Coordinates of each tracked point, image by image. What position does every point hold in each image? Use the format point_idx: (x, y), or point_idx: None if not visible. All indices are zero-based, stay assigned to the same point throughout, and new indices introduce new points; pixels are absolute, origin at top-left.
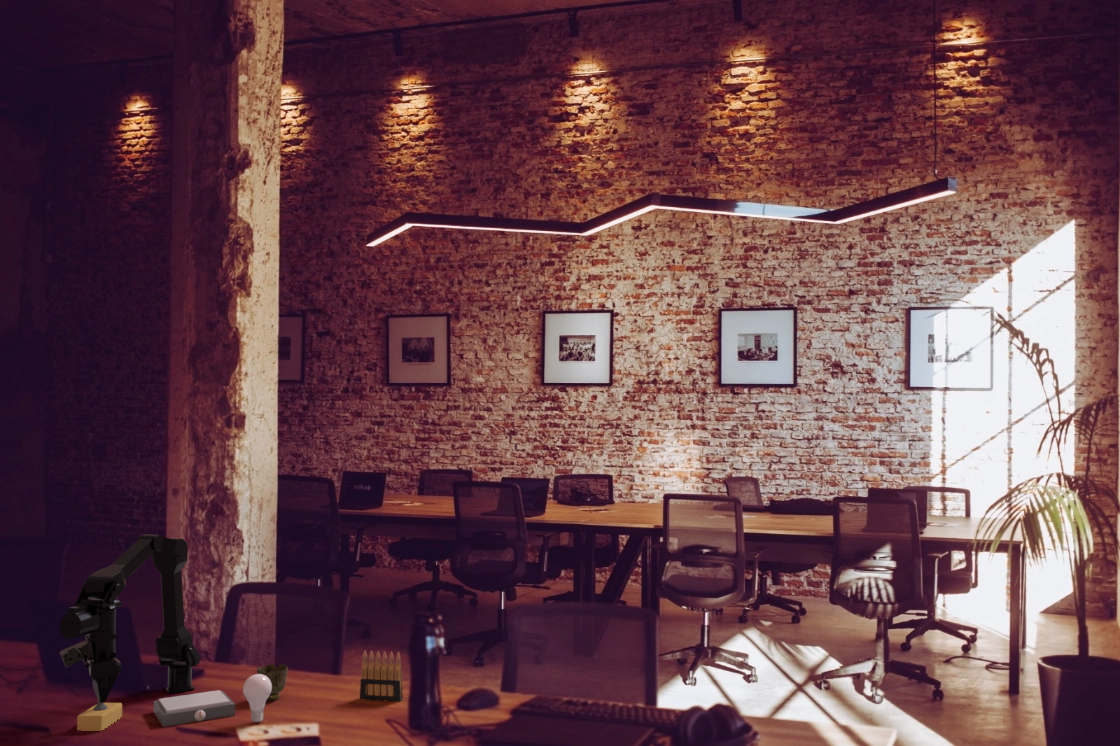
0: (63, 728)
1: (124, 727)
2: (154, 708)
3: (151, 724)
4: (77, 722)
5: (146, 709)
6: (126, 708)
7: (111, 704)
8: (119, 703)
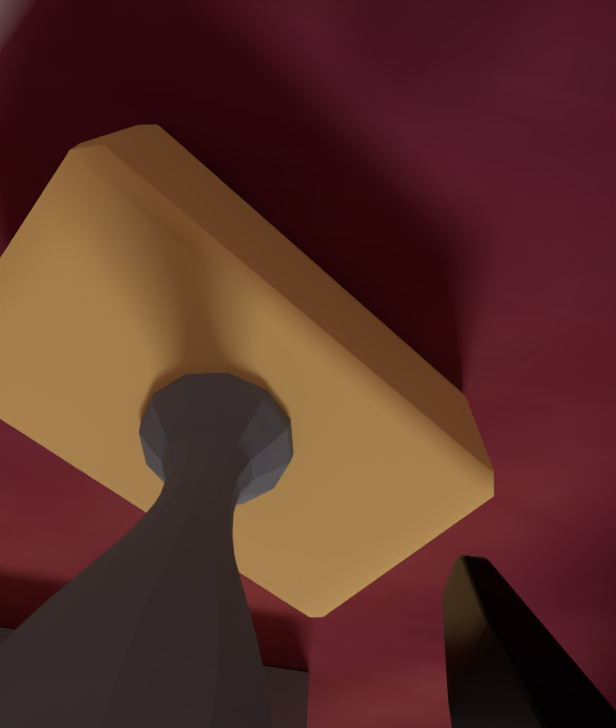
0: (374, 23)
1: (50, 463)
2: (269, 700)
3: (28, 592)
4: (120, 135)
5: (410, 665)
6: (551, 602)
7: (311, 553)
8: (294, 605)
